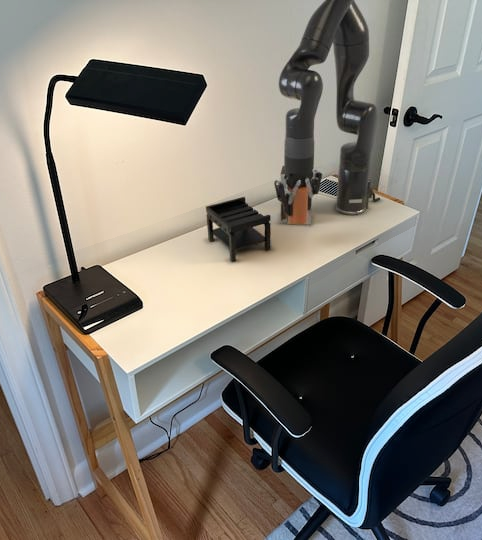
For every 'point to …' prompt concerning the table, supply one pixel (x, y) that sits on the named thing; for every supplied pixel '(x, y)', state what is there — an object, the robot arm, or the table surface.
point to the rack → (237, 225)
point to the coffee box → (283, 215)
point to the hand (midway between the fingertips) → (298, 212)
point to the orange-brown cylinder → (299, 206)
